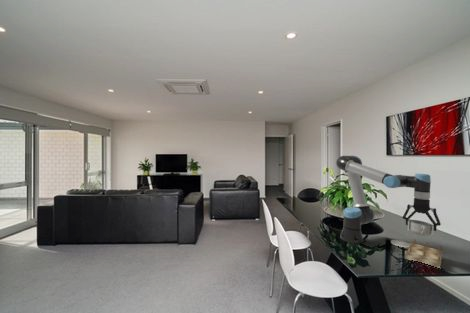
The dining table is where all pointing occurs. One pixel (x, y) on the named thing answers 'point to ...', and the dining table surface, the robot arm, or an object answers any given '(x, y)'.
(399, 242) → the saucer
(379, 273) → the dining table surface
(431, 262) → the rack
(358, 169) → the robot arm
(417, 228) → the teacup
